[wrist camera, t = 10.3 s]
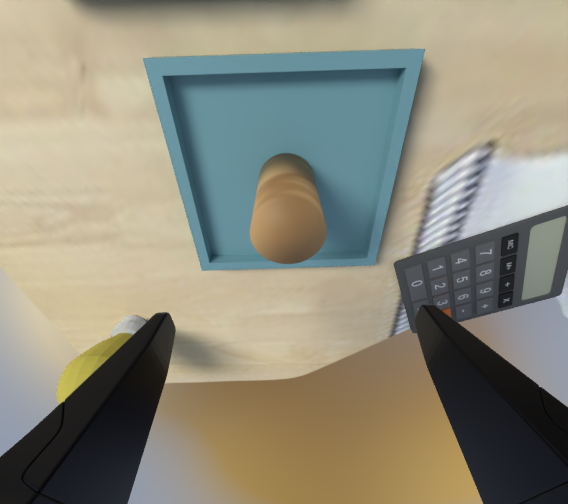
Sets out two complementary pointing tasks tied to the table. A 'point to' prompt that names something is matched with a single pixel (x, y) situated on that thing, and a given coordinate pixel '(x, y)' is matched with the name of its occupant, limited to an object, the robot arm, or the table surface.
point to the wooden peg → (287, 211)
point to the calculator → (489, 269)
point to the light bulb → (96, 356)
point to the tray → (285, 142)
